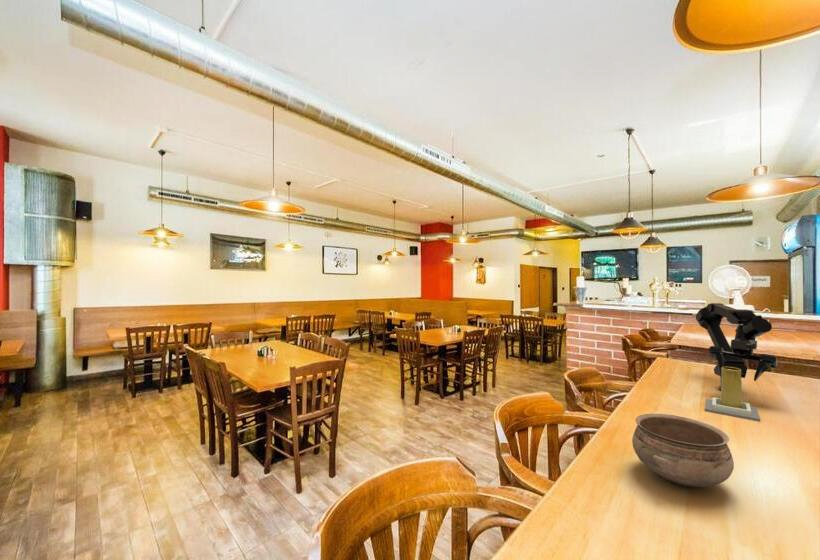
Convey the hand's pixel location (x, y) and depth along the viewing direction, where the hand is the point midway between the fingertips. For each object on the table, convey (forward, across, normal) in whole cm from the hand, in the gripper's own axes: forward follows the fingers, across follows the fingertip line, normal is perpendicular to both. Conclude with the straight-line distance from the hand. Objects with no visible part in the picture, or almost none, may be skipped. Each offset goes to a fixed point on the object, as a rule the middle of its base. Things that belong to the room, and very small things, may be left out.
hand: (737, 377), depth 131 cm
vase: (+13, 0, -2) cm, 13 cm away
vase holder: (+14, 0, -2) cm, 14 cm away
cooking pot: (+50, +3, -58) cm, 77 cm away
